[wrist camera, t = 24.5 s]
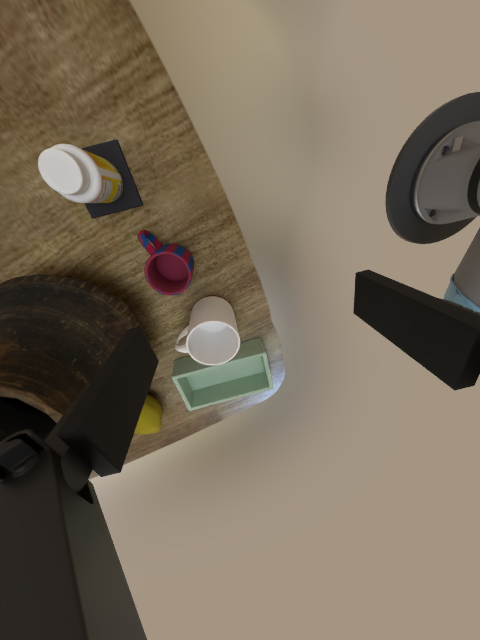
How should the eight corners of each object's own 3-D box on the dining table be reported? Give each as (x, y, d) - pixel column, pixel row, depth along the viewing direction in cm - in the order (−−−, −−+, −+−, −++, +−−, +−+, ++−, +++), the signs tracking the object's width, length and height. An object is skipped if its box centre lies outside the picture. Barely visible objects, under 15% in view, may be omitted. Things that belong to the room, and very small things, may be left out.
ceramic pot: (60, 383, 46) (-49, 513, 27) (-19, 274, 35) (-315, 366, 15) (172, 363, 48) (147, 473, 28) (133, 252, 36) (44, 309, 16)
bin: (260, 337, 48) (265, 352, 43) (267, 371, 53) (273, 388, 48) (175, 359, 47) (171, 377, 43) (191, 392, 53) (189, 411, 48)
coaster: (117, 140, 29) (116, 139, 29) (143, 205, 33) (142, 205, 33) (60, 155, 29) (58, 154, 29) (93, 218, 33) (92, 218, 33)
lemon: (119, 390, 49) (104, 420, 42) (150, 379, 49) (140, 408, 42) (143, 418, 55) (133, 449, 48) (171, 408, 54) (166, 438, 48)
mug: (167, 312, 42) (155, 342, 33) (223, 287, 41) (227, 312, 32) (188, 344, 46) (183, 380, 37) (239, 323, 45) (247, 353, 36)
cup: (168, 287, 40) (161, 302, 34) (134, 235, 35) (118, 241, 29) (200, 272, 39) (199, 284, 33) (170, 216, 34) (162, 219, 28)
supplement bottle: (74, 158, 29) (15, 137, 20) (117, 156, 30) (77, 135, 21) (90, 204, 32) (44, 204, 23) (129, 202, 32) (98, 201, 23)
